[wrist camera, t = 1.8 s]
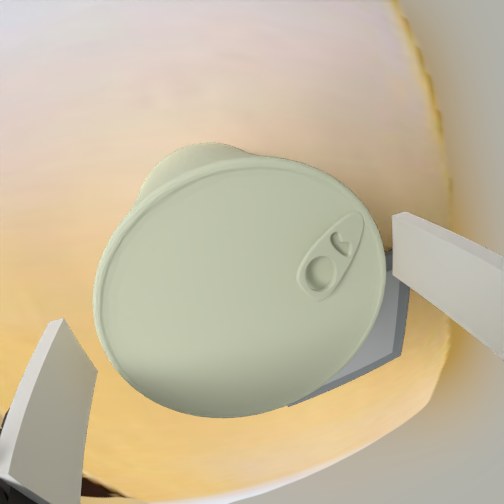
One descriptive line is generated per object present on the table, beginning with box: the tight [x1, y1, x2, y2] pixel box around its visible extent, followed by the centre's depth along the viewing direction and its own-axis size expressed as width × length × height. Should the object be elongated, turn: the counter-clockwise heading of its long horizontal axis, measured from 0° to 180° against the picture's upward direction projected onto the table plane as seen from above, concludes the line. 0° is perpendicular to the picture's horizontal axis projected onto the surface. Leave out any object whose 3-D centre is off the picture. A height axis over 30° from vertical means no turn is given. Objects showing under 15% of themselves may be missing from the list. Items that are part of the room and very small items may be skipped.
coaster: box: [287, 250, 410, 407], centre depth 25 cm, size 14×14×1 cm
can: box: [93, 143, 386, 418], centre depth 13 cm, size 9×9×12 cm
